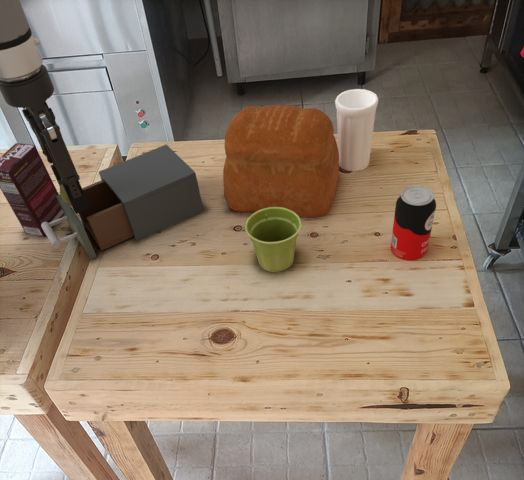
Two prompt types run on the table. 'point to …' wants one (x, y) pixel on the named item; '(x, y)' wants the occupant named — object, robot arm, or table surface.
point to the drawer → (94, 220)
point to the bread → (281, 160)
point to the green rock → (64, 194)
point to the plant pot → (274, 236)
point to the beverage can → (413, 222)
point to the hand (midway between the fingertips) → (77, 202)
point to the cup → (355, 127)
